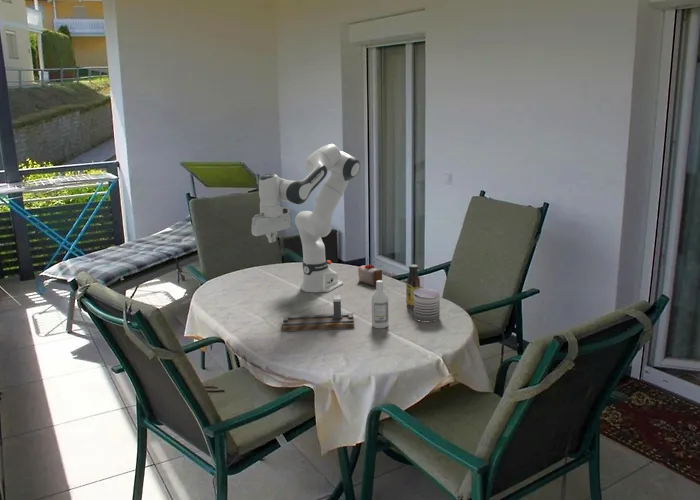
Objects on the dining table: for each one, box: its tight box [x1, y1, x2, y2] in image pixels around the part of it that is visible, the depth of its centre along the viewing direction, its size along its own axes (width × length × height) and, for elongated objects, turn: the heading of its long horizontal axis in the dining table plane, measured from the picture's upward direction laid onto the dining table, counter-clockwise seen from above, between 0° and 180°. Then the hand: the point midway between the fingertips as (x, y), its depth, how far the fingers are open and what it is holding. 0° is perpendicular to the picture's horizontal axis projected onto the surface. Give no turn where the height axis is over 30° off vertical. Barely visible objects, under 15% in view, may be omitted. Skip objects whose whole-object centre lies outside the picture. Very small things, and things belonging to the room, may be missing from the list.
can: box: [413, 287, 441, 322], centre depth 279 cm, size 11×11×12 cm
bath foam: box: [371, 279, 389, 329], centre depth 270 cm, size 7×7×20 cm
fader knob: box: [332, 294, 343, 320], centre depth 274 cm, size 4×5×10 cm
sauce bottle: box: [405, 264, 421, 309], centre depth 292 cm, size 7×6×20 cm
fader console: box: [282, 312, 355, 332], centre depth 275 cm, size 30×12×4 cm, turn 94°
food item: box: [357, 263, 383, 287], centre depth 330 cm, size 14×8×10 cm, turn 39°
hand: (272, 242), depth 283 cm, fingers closed
